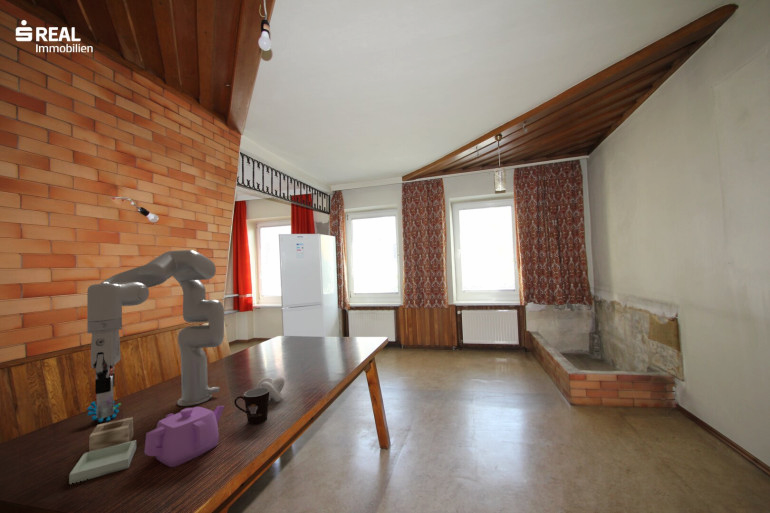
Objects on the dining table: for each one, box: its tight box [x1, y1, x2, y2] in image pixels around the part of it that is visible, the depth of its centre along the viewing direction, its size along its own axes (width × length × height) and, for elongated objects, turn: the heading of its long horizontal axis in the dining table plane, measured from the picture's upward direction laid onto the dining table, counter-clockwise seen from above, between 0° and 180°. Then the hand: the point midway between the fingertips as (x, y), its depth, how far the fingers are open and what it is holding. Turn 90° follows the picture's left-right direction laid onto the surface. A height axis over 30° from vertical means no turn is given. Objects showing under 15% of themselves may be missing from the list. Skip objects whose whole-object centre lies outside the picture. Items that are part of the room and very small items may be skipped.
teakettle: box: [143, 405, 225, 468], centre depth 95 cm, size 17×17×12 cm
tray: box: [68, 439, 137, 485], centre depth 89 cm, size 12×12×2 cm
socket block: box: [88, 416, 134, 452], centre depth 100 cm, size 9×9×6 cm
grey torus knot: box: [255, 376, 286, 403], centre depth 130 cm, size 11×12×9 cm
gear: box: [86, 400, 122, 423], centre depth 120 cm, size 11×6×10 cm
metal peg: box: [96, 368, 114, 419], centre depth 90 cm, size 4×4×13 cm
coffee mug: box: [234, 387, 270, 426], centre depth 113 cm, size 12×9×10 cm
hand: (105, 389), depth 90 cm, fingers closed on metal peg, 3 cm apart
